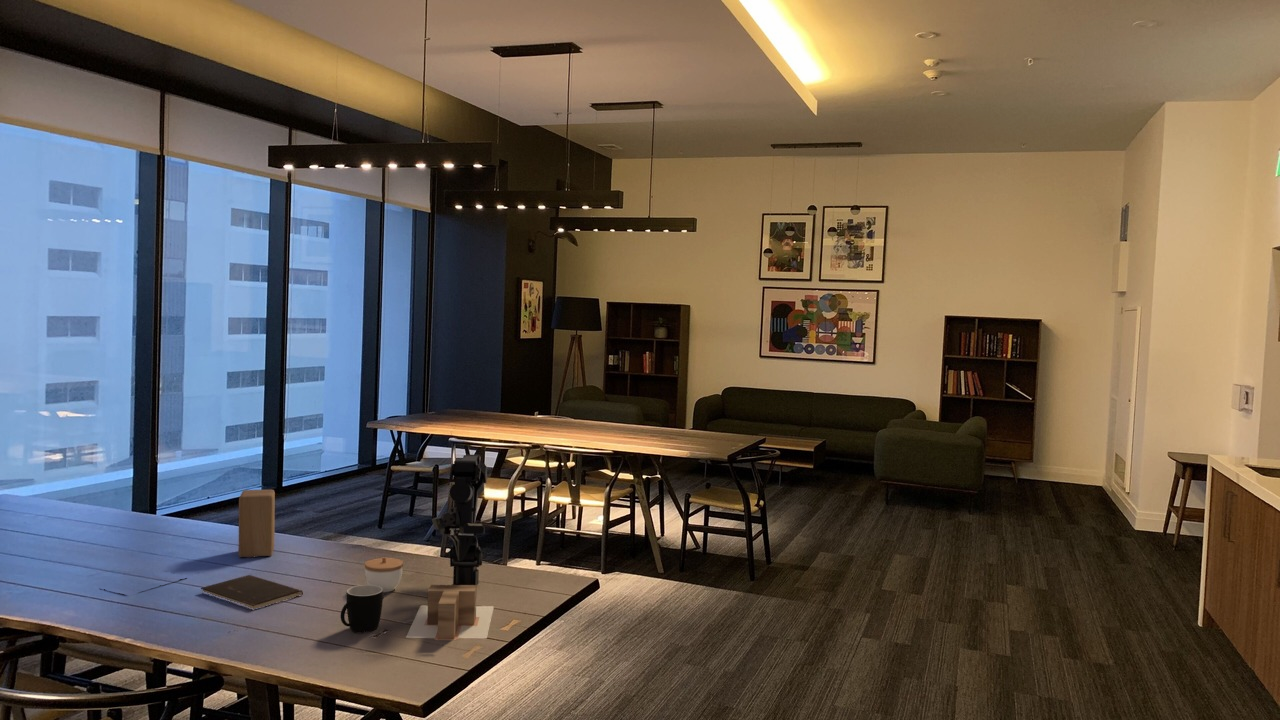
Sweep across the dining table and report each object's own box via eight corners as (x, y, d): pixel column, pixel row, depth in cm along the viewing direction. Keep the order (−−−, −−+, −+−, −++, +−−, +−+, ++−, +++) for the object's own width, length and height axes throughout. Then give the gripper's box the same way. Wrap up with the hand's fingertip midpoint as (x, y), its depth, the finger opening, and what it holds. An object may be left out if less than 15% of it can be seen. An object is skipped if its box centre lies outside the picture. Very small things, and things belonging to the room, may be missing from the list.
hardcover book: (253, 613, 248) (253, 604, 248) (200, 595, 260) (200, 587, 260) (303, 597, 262) (303, 589, 261) (251, 581, 274) (251, 574, 273)
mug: (365, 620, 244) (365, 582, 244) (389, 627, 240) (390, 589, 239) (328, 633, 234) (329, 594, 233) (353, 641, 229) (354, 601, 229)
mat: (486, 641, 233) (486, 640, 233) (404, 640, 231) (404, 639, 231) (494, 607, 258) (494, 606, 258) (420, 606, 256) (420, 605, 256)
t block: (469, 639, 233) (470, 604, 232) (421, 638, 232) (422, 603, 231) (475, 618, 248) (476, 585, 247) (430, 617, 247) (430, 584, 246)
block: (241, 550, 303) (242, 489, 302) (274, 548, 306) (275, 488, 305) (238, 558, 294) (238, 496, 292) (272, 557, 297) (272, 495, 296)
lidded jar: (356, 590, 268) (356, 558, 267) (382, 581, 277) (383, 550, 276) (384, 597, 263) (384, 564, 262) (410, 587, 272) (411, 556, 271)
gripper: (424, 504, 268) (421, 559, 264) (448, 502, 252) (445, 561, 249) (460, 505, 274) (458, 560, 270) (486, 503, 258) (484, 561, 255)
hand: (460, 560), depth 261 cm, fingers closed
